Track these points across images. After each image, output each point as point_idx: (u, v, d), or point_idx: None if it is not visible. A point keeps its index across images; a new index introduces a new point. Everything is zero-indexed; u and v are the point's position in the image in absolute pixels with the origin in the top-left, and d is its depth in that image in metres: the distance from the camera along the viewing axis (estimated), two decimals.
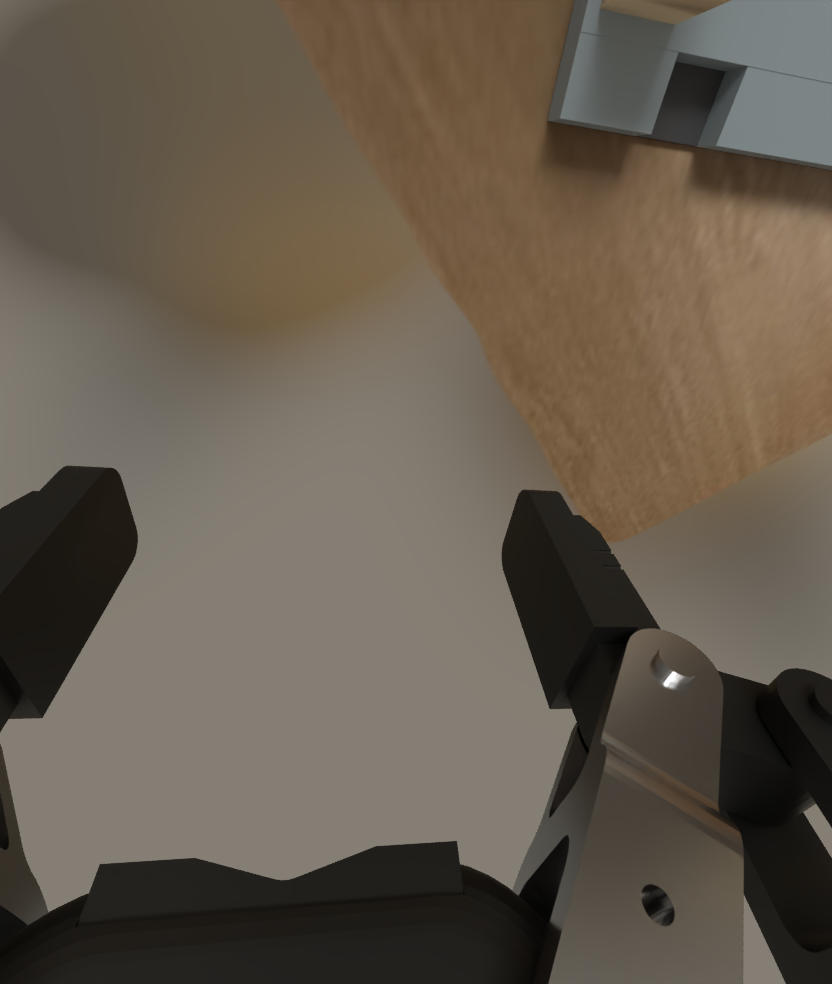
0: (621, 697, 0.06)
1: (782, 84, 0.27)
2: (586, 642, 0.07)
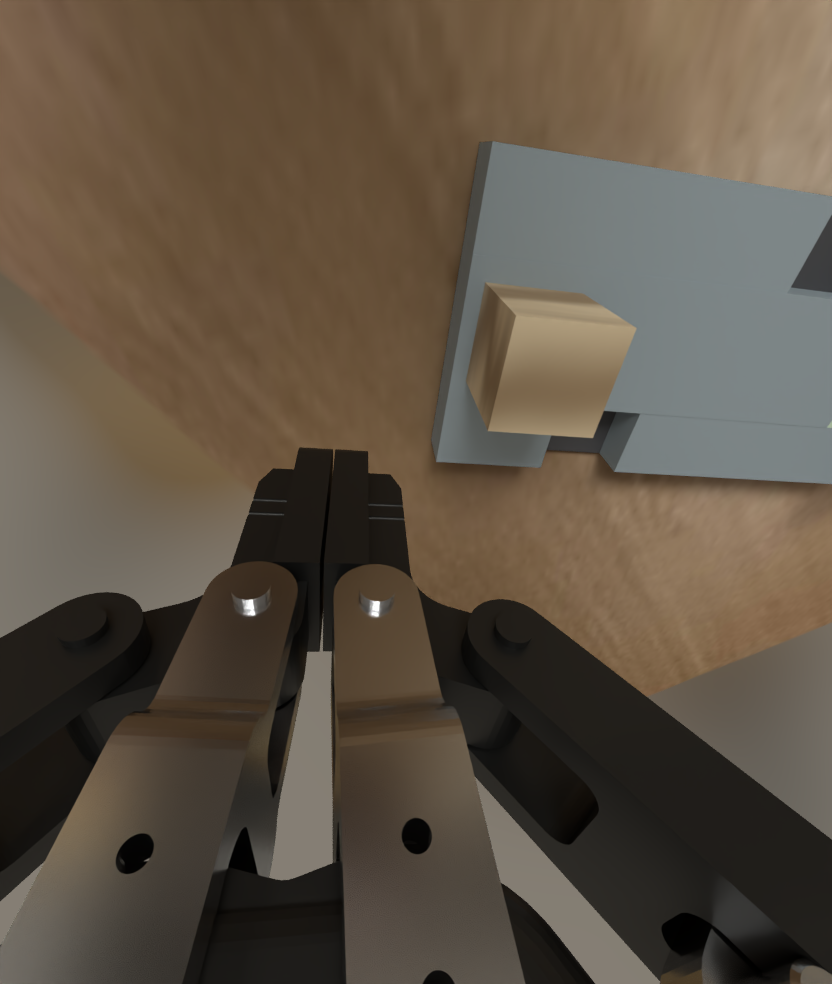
0: (343, 653, 0.06)
1: (681, 424, 0.25)
2: (324, 579, 0.07)
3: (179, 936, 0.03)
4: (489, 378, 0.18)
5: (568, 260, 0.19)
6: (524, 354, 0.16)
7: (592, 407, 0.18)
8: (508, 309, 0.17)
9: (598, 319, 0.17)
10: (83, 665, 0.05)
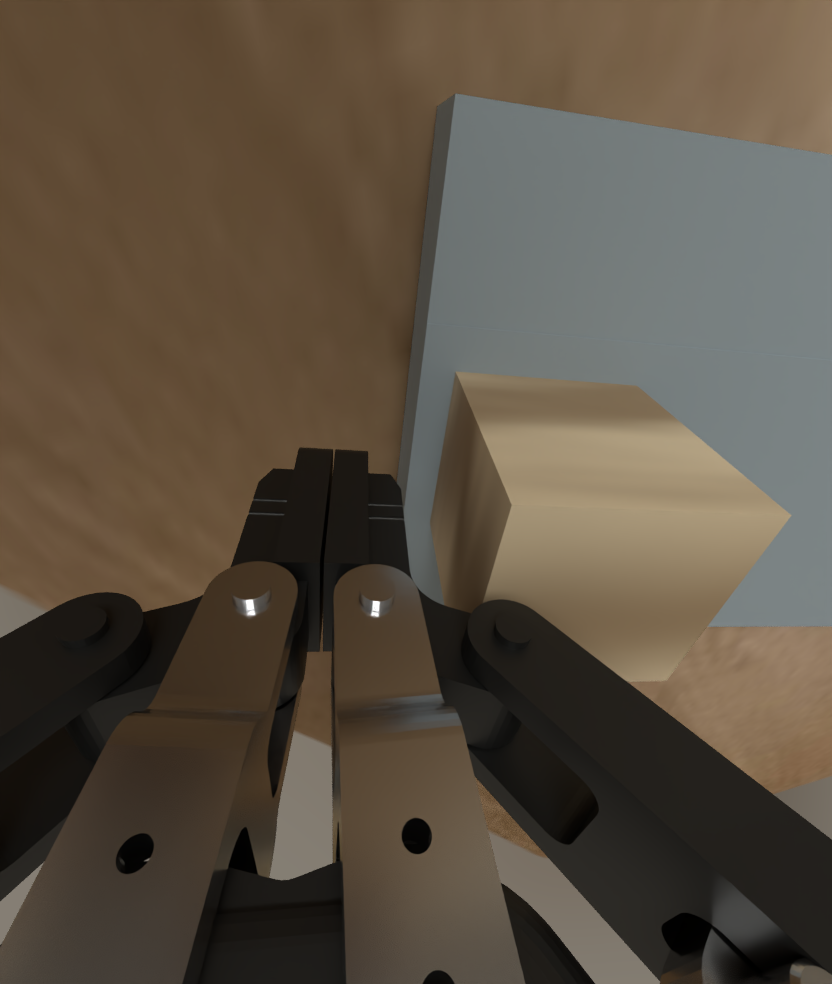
0: (342, 653, 0.06)
1: (779, 565, 0.16)
2: (324, 579, 0.07)
3: (179, 936, 0.03)
4: (461, 575, 0.09)
5: (611, 330, 0.10)
6: (532, 569, 0.07)
7: (671, 641, 0.09)
8: (494, 469, 0.07)
9: (697, 486, 0.07)
10: (83, 665, 0.05)
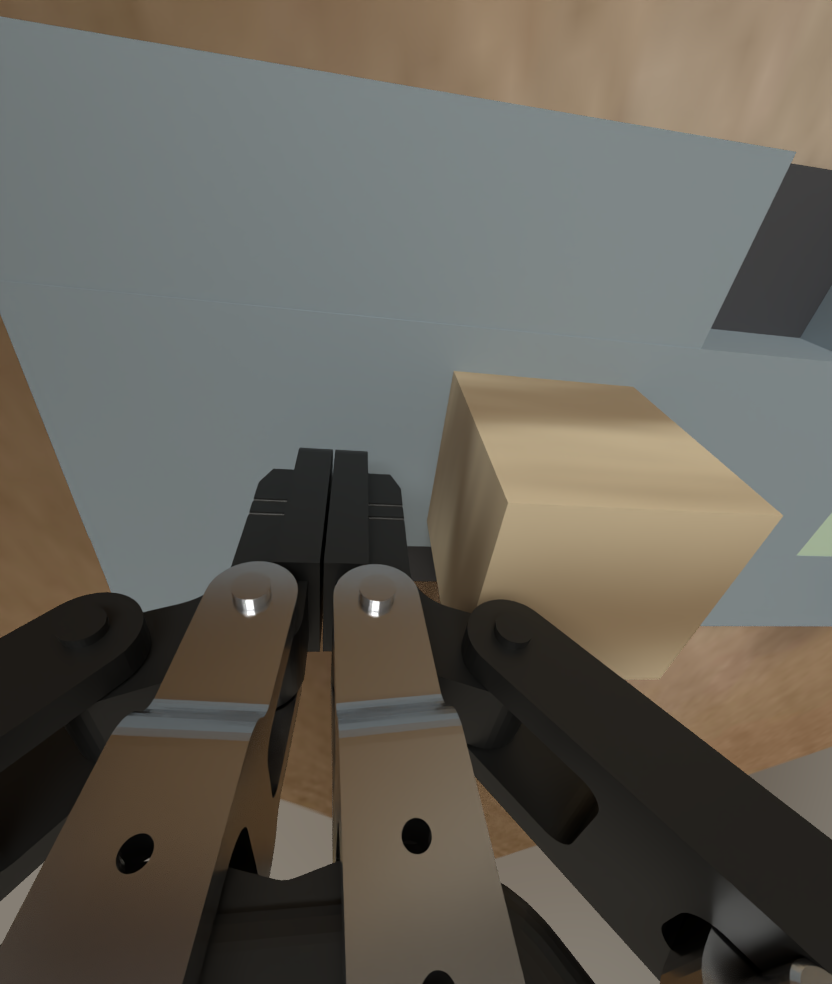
0: (342, 654, 0.06)
1: None
2: (324, 579, 0.07)
3: (179, 936, 0.03)
4: (457, 573, 0.09)
5: (216, 290, 0.09)
6: (528, 567, 0.07)
7: (665, 639, 0.09)
8: (491, 467, 0.07)
9: (691, 486, 0.08)
10: (83, 665, 0.05)
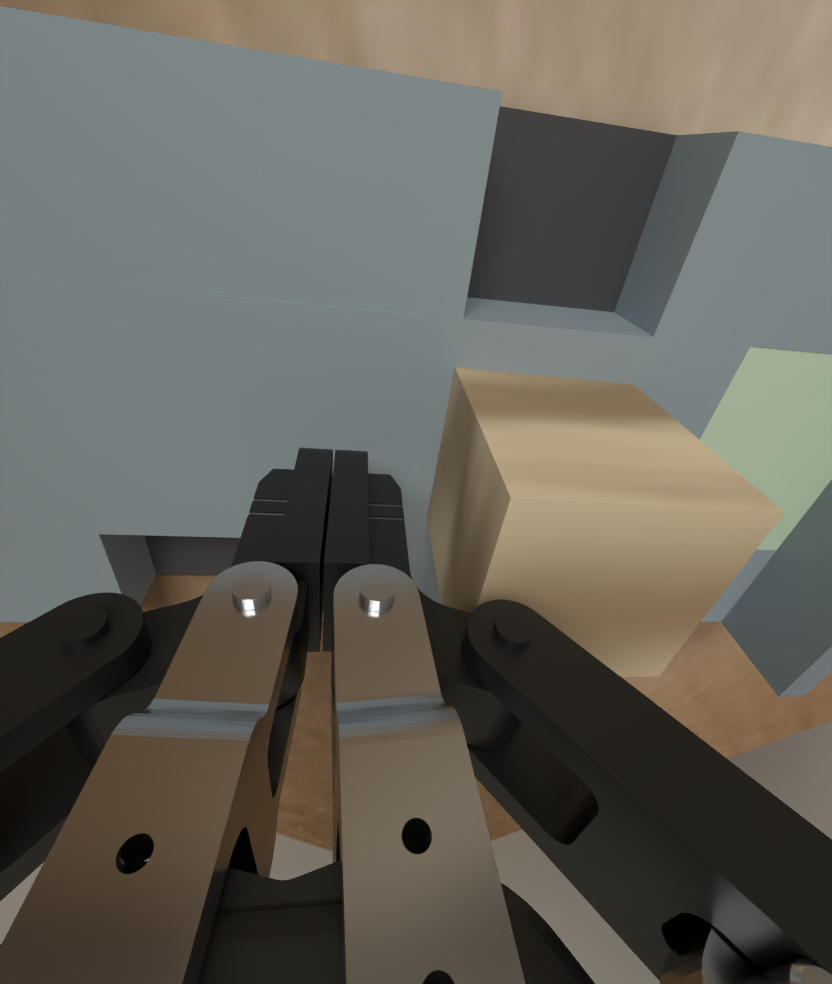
0: (343, 653, 0.06)
1: None
2: (324, 579, 0.07)
3: (179, 936, 0.03)
4: (458, 569, 0.09)
5: None
6: (529, 563, 0.07)
7: (665, 636, 0.09)
8: (493, 462, 0.07)
9: (693, 482, 0.08)
10: (83, 666, 0.05)
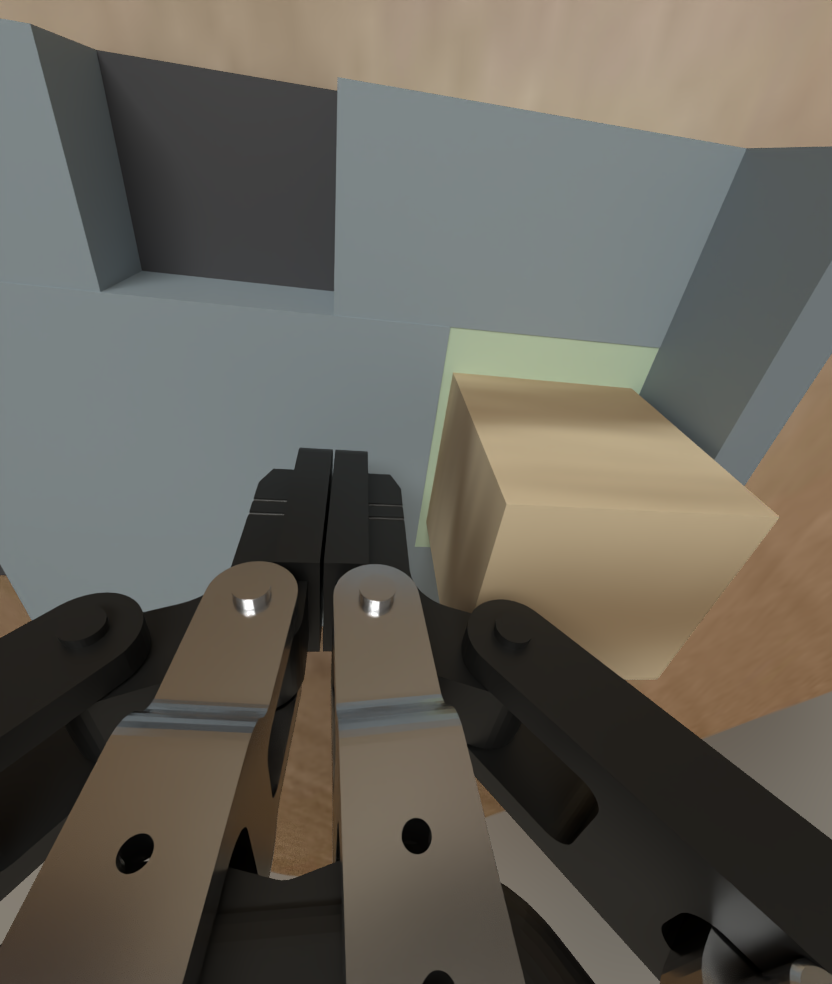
0: (343, 654, 0.06)
1: (97, 550, 0.13)
2: (324, 579, 0.07)
3: (179, 936, 0.03)
4: (456, 574, 0.09)
5: None
6: (525, 568, 0.07)
7: (662, 640, 0.09)
8: (490, 469, 0.07)
9: (688, 488, 0.08)
10: (84, 665, 0.05)
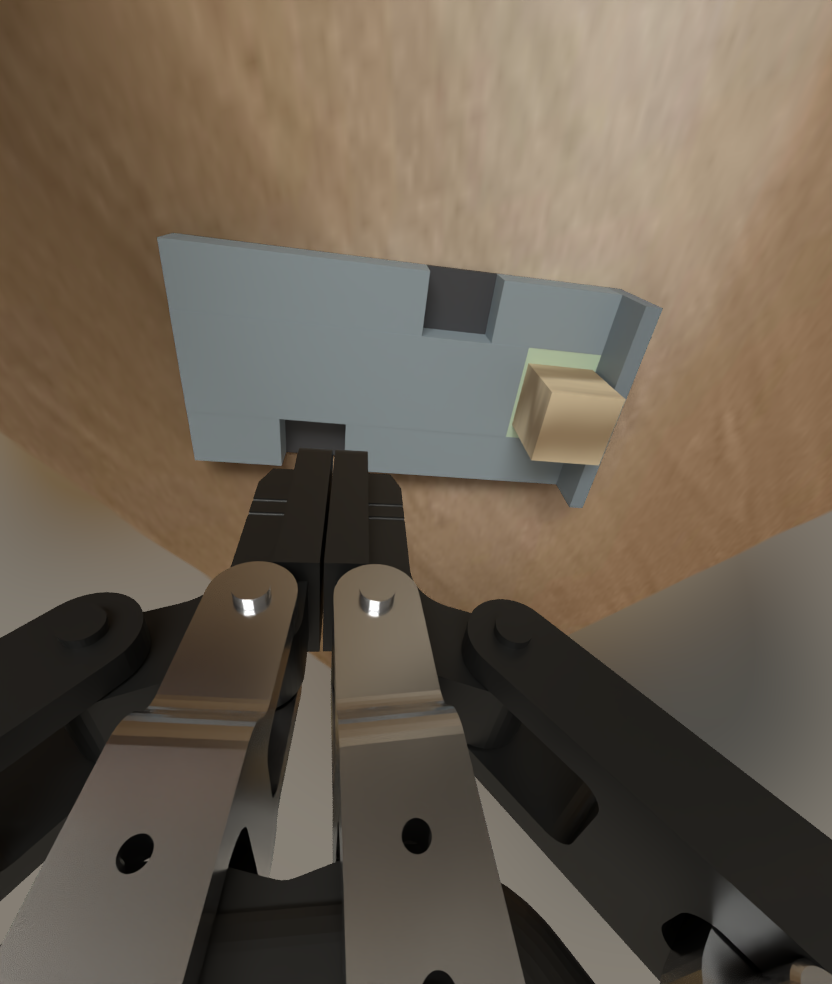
0: (343, 653, 0.06)
1: (383, 433, 0.32)
2: (324, 579, 0.07)
3: (179, 936, 0.03)
4: (532, 426, 0.29)
5: (242, 313, 0.27)
6: (556, 413, 0.27)
7: (598, 446, 0.28)
8: (546, 386, 0.27)
9: (602, 393, 0.27)
10: (83, 666, 0.05)
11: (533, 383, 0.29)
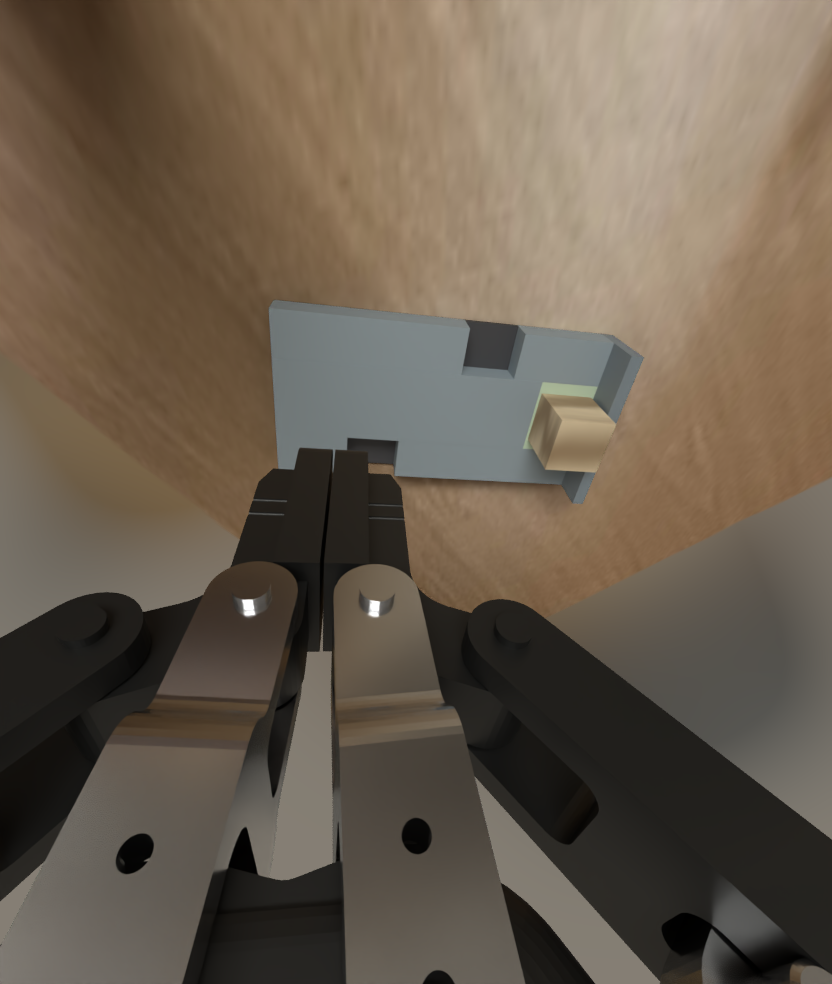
0: (343, 653, 0.06)
1: (427, 447, 0.41)
2: (324, 579, 0.07)
3: (179, 936, 0.03)
4: (545, 443, 0.38)
5: (326, 360, 0.36)
6: (564, 435, 0.36)
7: (596, 458, 0.37)
8: (557, 415, 0.36)
9: (598, 419, 0.36)
10: (83, 665, 0.05)
11: (546, 410, 0.38)
